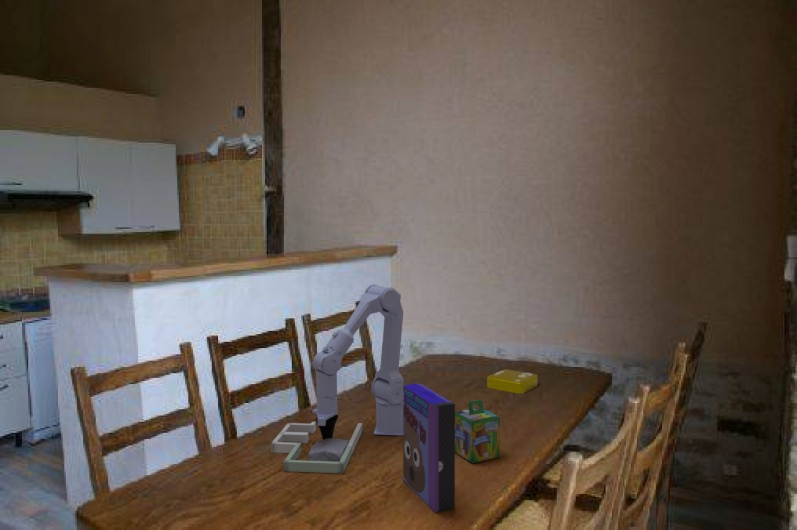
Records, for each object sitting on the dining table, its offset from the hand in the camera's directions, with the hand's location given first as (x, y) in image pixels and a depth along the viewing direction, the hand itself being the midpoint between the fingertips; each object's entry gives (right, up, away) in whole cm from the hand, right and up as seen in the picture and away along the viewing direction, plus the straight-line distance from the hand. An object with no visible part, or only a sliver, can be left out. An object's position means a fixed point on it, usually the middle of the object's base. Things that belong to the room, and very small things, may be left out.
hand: (327, 442), depth 169 cm
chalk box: (+41, -2, -6) cm, 42 cm away
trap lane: (-4, -2, -1) cm, 4 cm away
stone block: (+1, -3, -7) cm, 7 cm away
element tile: (+63, +3, +59) cm, 86 cm away
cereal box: (+27, -4, -29) cm, 39 cm away
